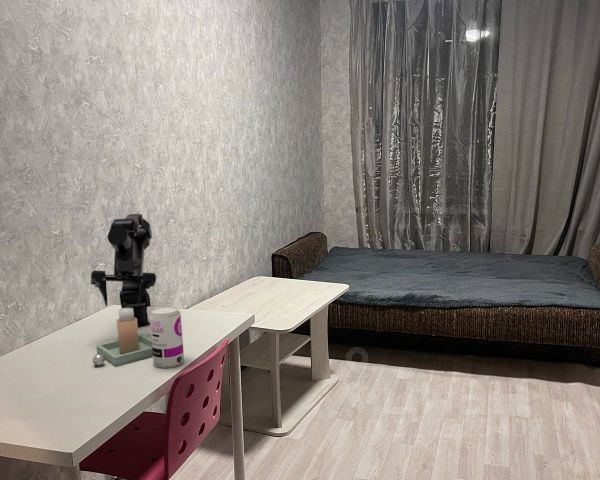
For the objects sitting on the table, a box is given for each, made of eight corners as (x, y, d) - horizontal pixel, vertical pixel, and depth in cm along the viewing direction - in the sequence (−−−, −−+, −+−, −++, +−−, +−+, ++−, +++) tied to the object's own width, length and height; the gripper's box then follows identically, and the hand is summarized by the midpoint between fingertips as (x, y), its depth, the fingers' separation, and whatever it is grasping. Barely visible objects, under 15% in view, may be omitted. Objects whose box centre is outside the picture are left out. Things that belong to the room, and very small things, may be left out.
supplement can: (187, 357, 170) (183, 305, 168) (179, 368, 162) (174, 314, 159) (159, 357, 171) (155, 306, 168) (149, 368, 163) (144, 314, 160)
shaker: (127, 347, 179) (123, 306, 177) (143, 349, 177) (140, 307, 175) (115, 354, 174) (111, 311, 171) (132, 355, 172) (128, 313, 169)
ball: (102, 362, 169) (101, 351, 169) (107, 365, 167) (106, 354, 166) (91, 365, 167) (90, 354, 167) (95, 368, 165) (94, 357, 164)
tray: (142, 342, 185) (142, 334, 184) (163, 353, 174) (162, 345, 174) (97, 353, 176) (96, 345, 176) (115, 366, 166) (114, 357, 165)
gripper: (93, 246, 177) (90, 297, 172) (158, 249, 183) (158, 299, 178) (91, 258, 187) (89, 308, 181) (153, 261, 193) (153, 309, 188)
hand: (122, 306), depth 182 cm, fingers open, 9 cm apart
